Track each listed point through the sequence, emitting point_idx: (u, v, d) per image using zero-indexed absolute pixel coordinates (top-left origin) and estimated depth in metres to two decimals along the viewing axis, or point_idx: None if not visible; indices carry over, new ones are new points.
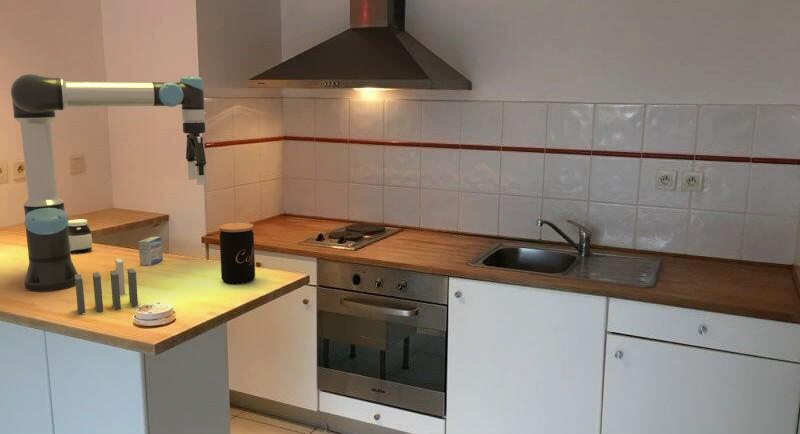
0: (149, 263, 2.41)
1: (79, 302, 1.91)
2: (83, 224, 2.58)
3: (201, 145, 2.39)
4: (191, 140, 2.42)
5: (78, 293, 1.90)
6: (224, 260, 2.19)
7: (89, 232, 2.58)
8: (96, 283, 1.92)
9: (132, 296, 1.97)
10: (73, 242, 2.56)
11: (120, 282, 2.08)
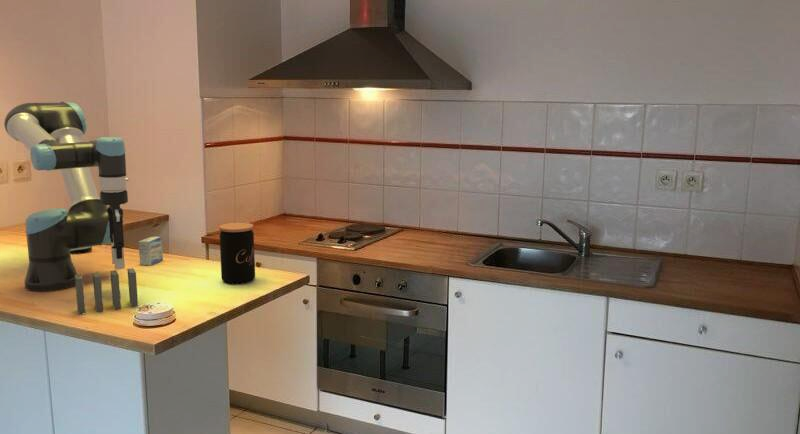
0: (149, 263, 2.41)
1: (79, 302, 1.91)
2: None
3: (120, 225, 2.02)
4: (110, 213, 2.04)
5: (78, 293, 1.90)
6: (224, 260, 2.19)
7: None
8: (96, 283, 1.92)
9: (132, 296, 1.97)
10: None
11: None
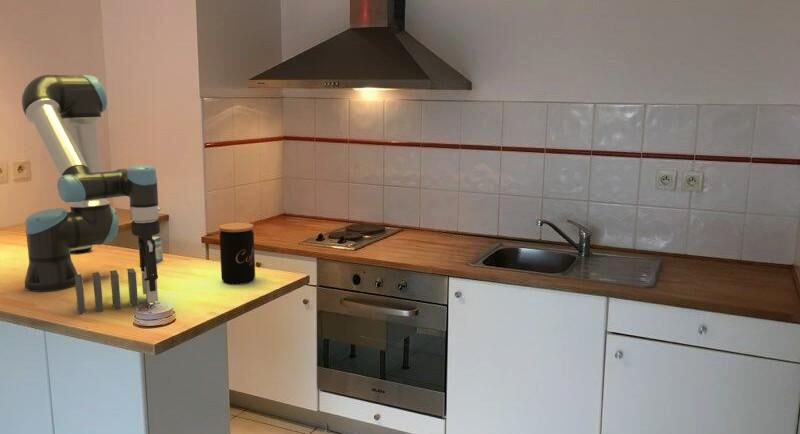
0: None
1: (79, 302, 1.91)
2: None
3: (153, 255, 1.94)
4: (142, 244, 1.96)
5: (78, 293, 1.90)
6: (224, 260, 2.19)
7: None
8: (96, 283, 1.92)
9: (132, 296, 1.97)
10: None
11: None
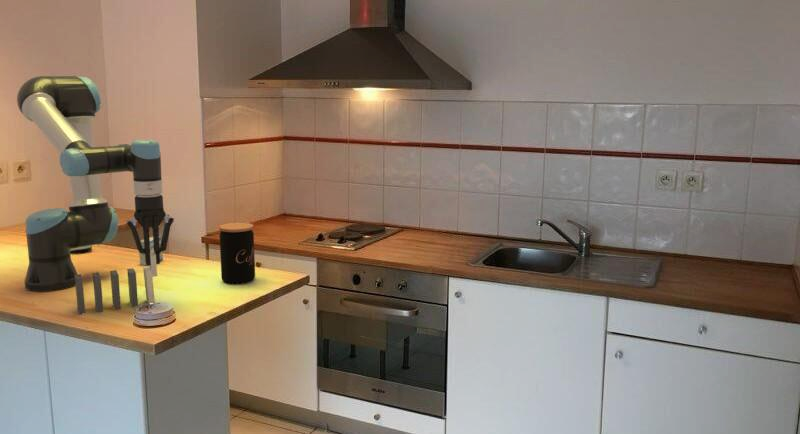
0: None
1: (79, 302, 1.91)
2: None
3: (132, 231, 1.96)
4: None
5: (78, 293, 1.90)
6: (224, 260, 2.19)
7: None
8: (96, 283, 1.92)
9: (132, 296, 1.97)
10: None
11: (149, 291, 1.99)
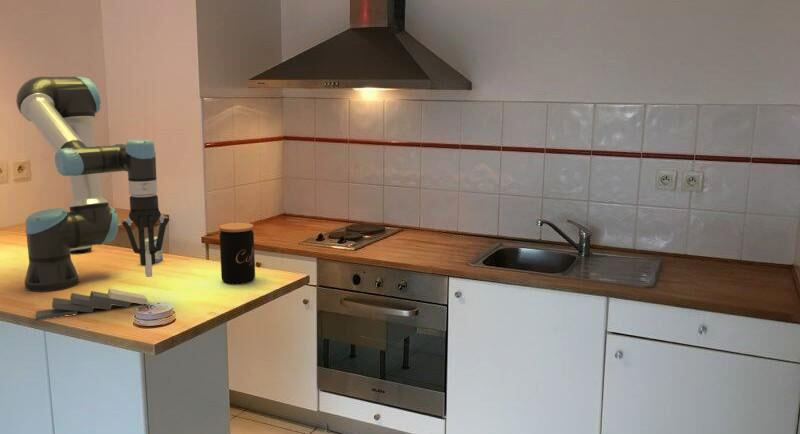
0: None
1: None
2: None
3: (127, 231, 1.95)
4: None
5: None
6: (224, 260, 2.19)
7: None
8: (60, 307, 1.89)
9: (118, 304, 1.95)
10: None
11: (133, 300, 1.97)
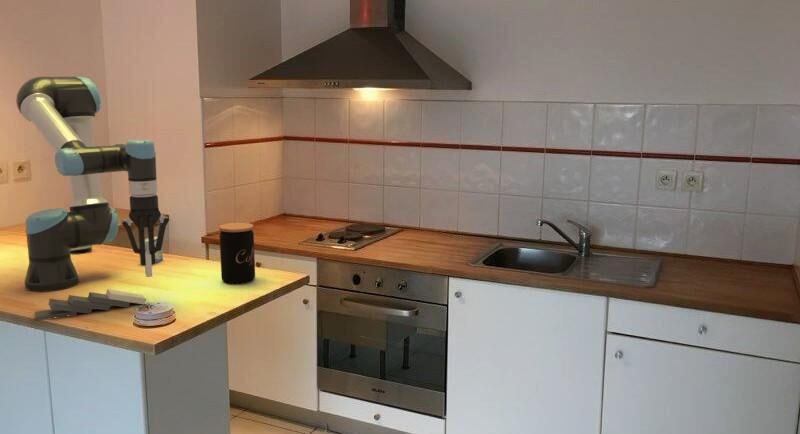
0: None
1: None
2: None
3: (127, 231, 1.95)
4: None
5: None
6: (224, 260, 2.19)
7: None
8: (58, 308, 1.87)
9: (117, 304, 1.95)
10: None
11: (132, 300, 1.97)
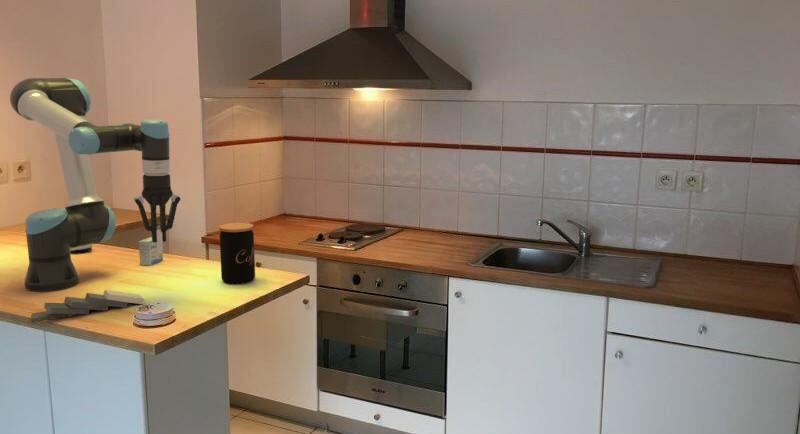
0: (149, 263, 2.41)
1: None
2: None
3: (139, 209, 2.00)
4: None
5: None
6: (224, 260, 2.19)
7: None
8: (57, 312, 1.85)
9: (115, 305, 1.95)
10: None
11: (130, 300, 1.98)
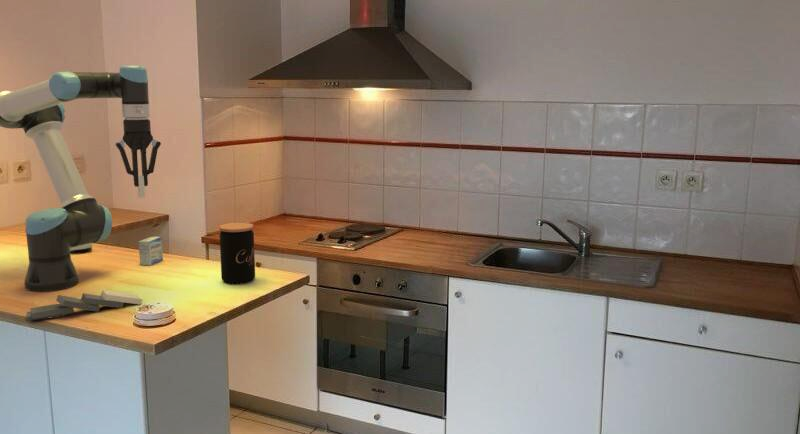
0: (149, 263, 2.41)
1: None
2: None
3: (120, 153, 2.06)
4: None
5: None
6: (224, 260, 2.19)
7: None
8: (40, 316, 1.85)
9: (111, 305, 1.95)
10: None
11: (128, 301, 1.98)
